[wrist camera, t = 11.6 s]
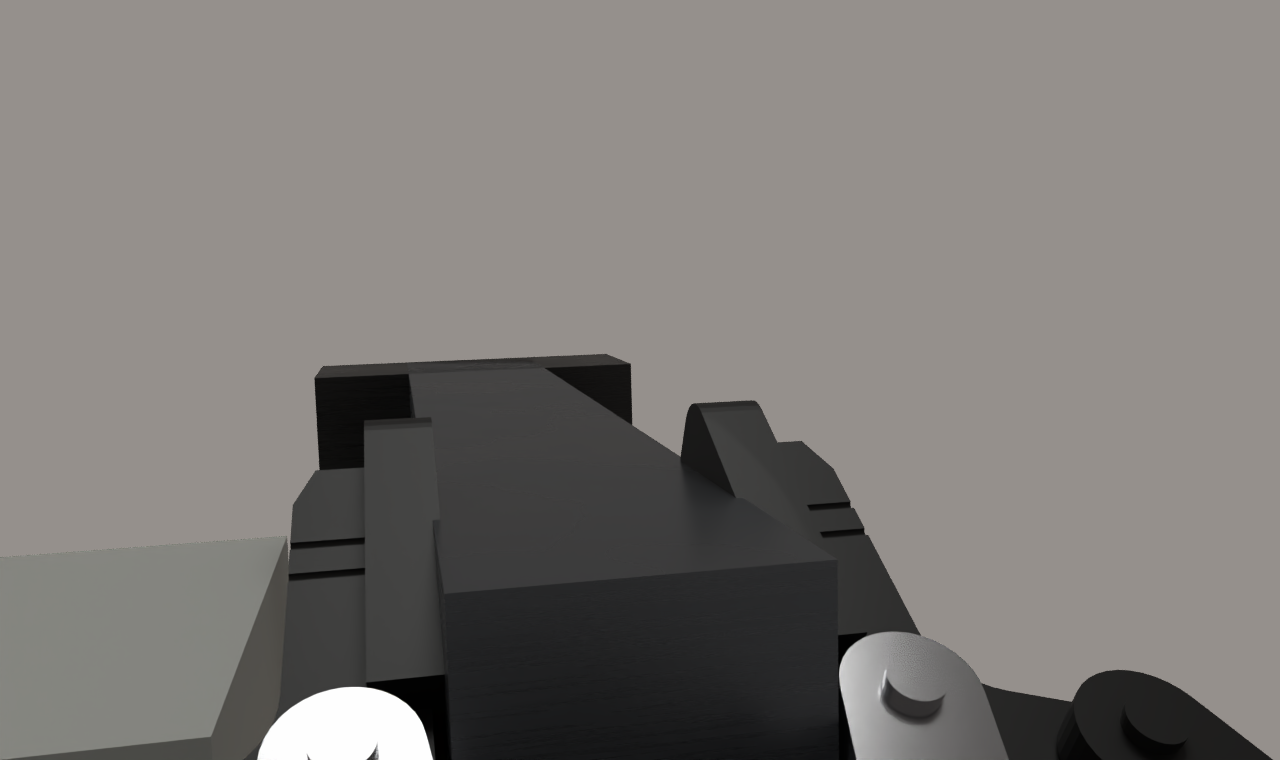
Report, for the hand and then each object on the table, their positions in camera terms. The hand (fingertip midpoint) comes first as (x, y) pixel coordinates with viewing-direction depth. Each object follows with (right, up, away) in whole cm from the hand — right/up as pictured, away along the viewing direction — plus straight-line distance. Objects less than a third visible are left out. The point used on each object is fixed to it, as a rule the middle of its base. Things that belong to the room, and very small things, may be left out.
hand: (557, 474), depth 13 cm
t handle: (-1, -2, +6) cm, 6 cm away
